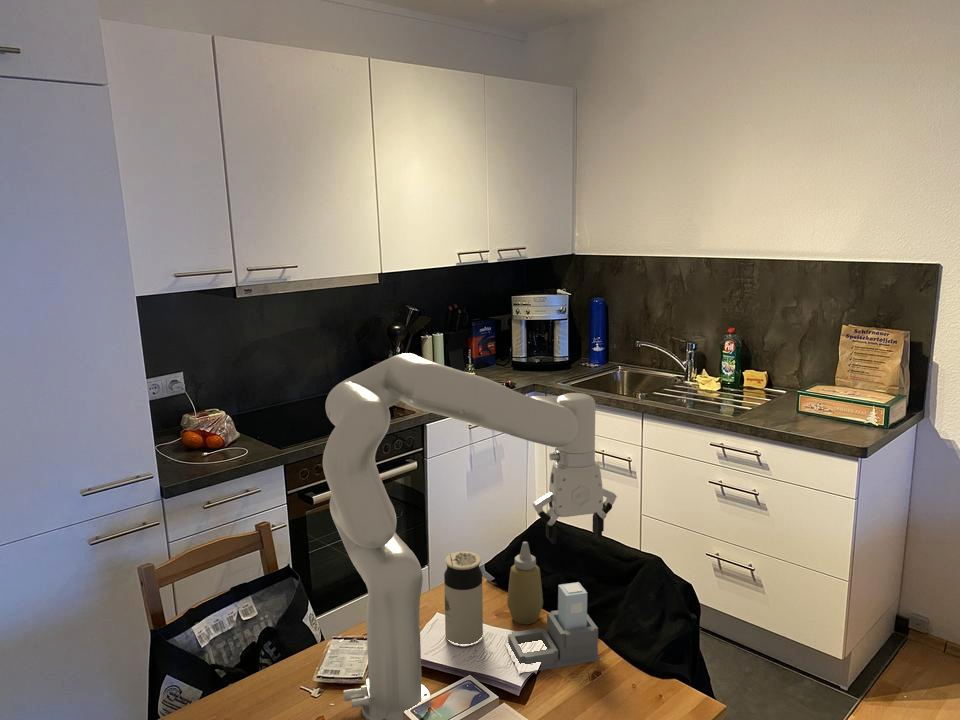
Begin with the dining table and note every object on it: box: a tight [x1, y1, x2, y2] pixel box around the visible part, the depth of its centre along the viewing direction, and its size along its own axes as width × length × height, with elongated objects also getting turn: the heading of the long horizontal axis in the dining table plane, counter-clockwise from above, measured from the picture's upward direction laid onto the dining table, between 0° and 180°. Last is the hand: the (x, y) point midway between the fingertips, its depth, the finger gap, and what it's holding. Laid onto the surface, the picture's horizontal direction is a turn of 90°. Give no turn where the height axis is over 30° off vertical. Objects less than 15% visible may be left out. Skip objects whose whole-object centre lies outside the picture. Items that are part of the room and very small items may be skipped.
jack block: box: [507, 609, 600, 672], centre depth 145 cm, size 17×10×6 cm, turn 104°
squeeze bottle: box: [506, 541, 544, 625], centre depth 157 cm, size 8×8×18 cm
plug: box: [557, 581, 588, 631], centre depth 145 cm, size 4×5×10 cm
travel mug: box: [443, 550, 484, 644], centre depth 150 cm, size 8×8×18 cm
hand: (574, 538), depth 142 cm, fingers open, 9 cm apart
